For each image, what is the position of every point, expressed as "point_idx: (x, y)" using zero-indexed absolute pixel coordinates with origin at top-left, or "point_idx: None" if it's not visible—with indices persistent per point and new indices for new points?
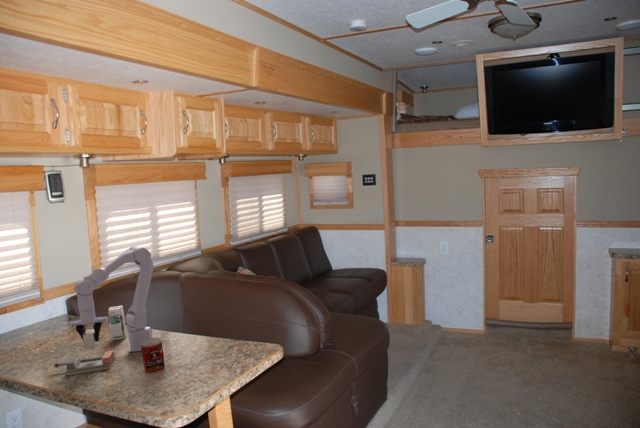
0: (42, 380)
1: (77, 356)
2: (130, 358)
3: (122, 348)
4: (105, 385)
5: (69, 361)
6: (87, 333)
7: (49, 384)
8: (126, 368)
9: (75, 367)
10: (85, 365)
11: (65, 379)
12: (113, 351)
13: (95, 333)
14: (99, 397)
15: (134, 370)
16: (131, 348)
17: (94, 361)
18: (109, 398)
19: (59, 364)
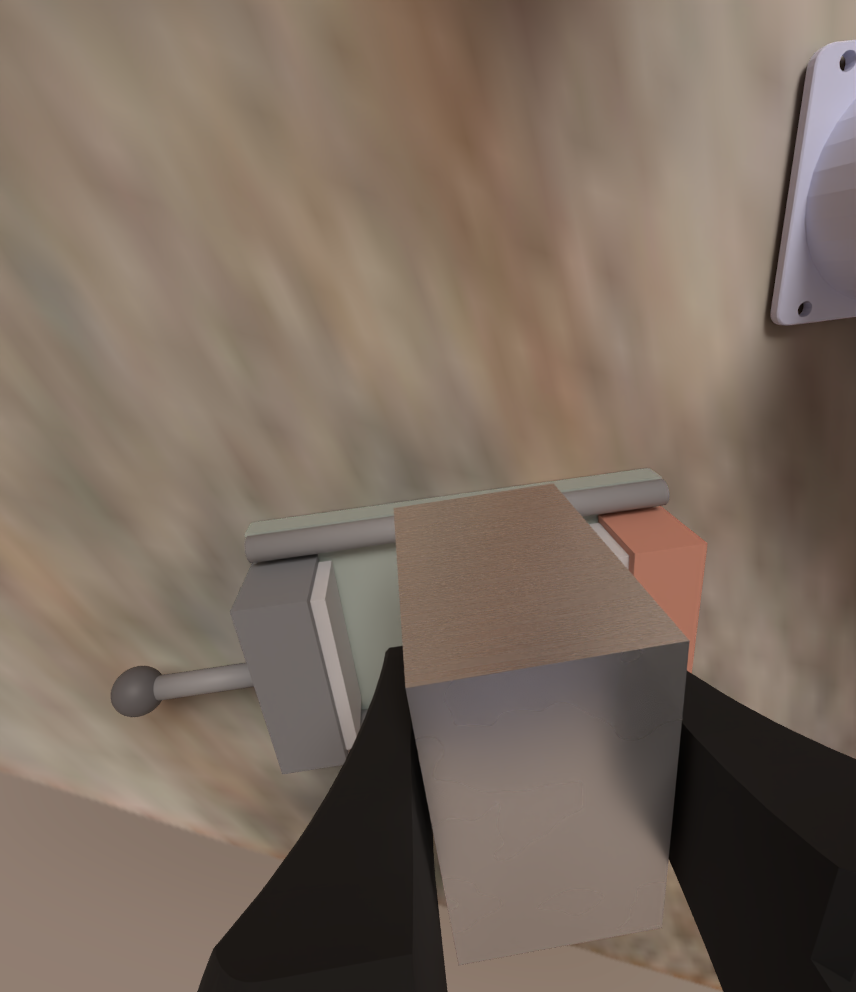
0: (137, 762)
1: (310, 630)
2: (789, 489)
3: (684, 106)
4: None
5: (288, 735)
6: (525, 897)
7: (251, 819)
8: (761, 678)
9: (360, 708)
10: None
11: (336, 770)
12: (699, 545)
13: (675, 847)
14: (646, 949)
15: (817, 716)
16: (832, 271)
17: None
18: (696, 957)
19: (169, 698)
